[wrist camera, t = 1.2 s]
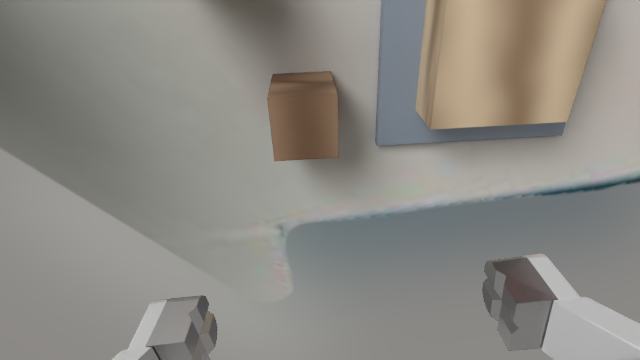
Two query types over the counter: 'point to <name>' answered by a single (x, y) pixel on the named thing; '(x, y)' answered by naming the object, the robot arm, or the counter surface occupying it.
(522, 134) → the board
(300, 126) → the walnut block
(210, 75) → the counter surface
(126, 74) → the counter surface
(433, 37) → the oak plinth
